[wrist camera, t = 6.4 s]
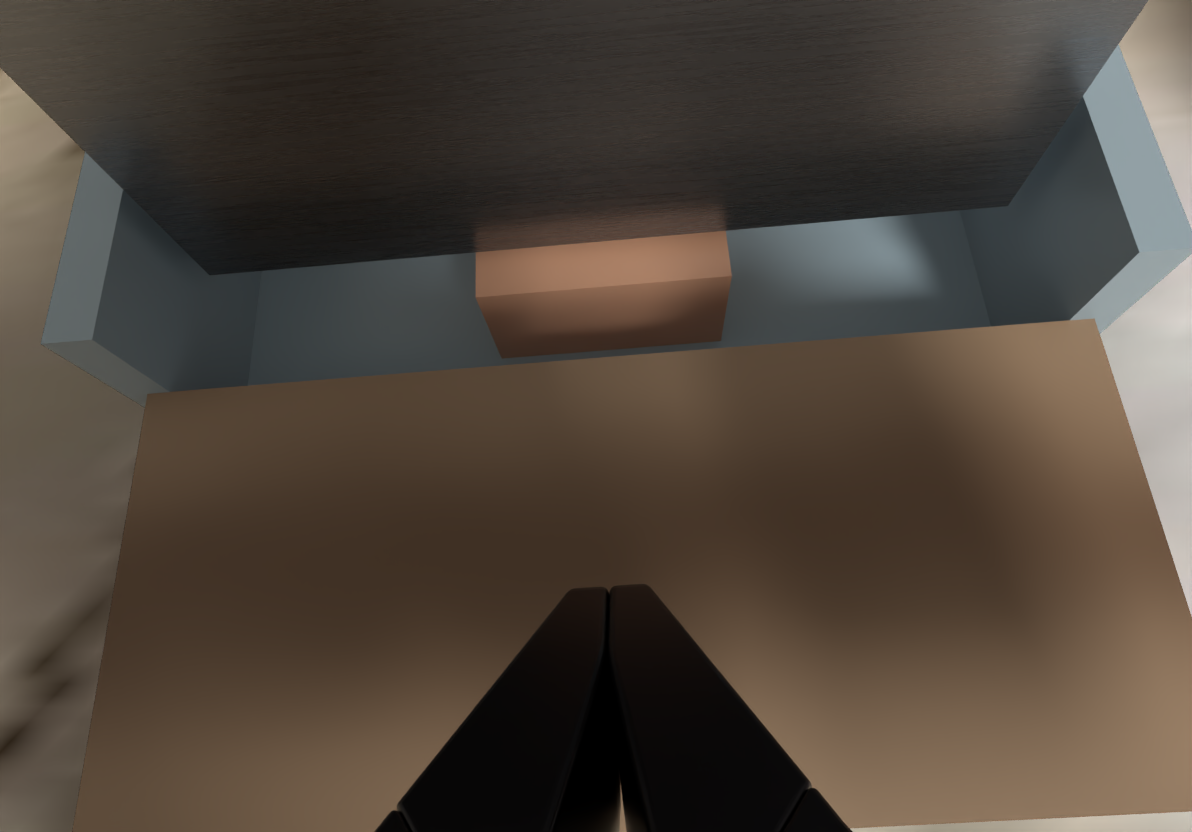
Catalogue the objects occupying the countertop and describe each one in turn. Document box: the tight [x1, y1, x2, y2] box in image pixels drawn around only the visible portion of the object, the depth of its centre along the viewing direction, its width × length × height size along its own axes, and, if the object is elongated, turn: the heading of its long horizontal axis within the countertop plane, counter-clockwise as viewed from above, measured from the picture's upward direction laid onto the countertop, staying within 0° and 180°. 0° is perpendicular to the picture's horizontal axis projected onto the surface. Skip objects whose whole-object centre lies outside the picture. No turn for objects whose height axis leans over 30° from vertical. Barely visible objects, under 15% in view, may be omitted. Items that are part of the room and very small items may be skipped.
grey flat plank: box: [0, 0, 1148, 275], centre depth 11 cm, size 1×14×6 cm, turn 93°
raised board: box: [72, 318, 1192, 832], centre depth 13 cm, size 7×16×3 cm, turn 93°
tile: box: [476, 231, 732, 359], centre depth 16 cm, size 4×4×2 cm
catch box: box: [41, 45, 1192, 407], centre depth 15 cm, size 8×17×5 cm, turn 93°
